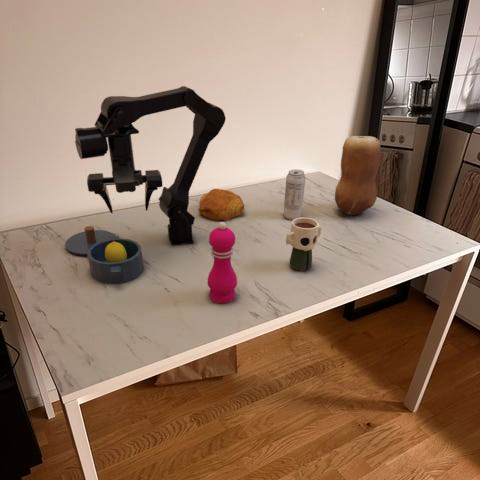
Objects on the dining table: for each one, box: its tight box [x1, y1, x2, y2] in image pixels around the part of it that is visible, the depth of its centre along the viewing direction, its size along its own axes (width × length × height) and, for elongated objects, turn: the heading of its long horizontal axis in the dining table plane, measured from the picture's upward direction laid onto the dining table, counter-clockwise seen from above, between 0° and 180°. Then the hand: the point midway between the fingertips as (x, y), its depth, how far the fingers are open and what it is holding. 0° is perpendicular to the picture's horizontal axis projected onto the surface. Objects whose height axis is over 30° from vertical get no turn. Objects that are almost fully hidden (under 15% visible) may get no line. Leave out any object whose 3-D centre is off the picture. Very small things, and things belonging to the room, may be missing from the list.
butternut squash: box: [334, 135, 382, 216], centre depth 147 cm, size 14×13×25 cm
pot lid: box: [64, 225, 117, 256], centre depth 132 cm, size 15×15×5 cm
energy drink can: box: [282, 168, 307, 221], centre depth 147 cm, size 6×6×15 cm
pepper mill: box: [206, 221, 238, 304], centre depth 108 cm, size 7×7×20 cm
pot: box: [86, 235, 144, 285], centre depth 121 cm, size 14×19×6 cm
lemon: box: [105, 242, 127, 263], centre depth 120 cm, size 6×6×8 cm
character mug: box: [285, 216, 322, 271], centre depth 122 cm, size 11×7×13 cm, turn 119°
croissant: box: [198, 188, 245, 221], centre depth 151 cm, size 14×16×8 cm
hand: (129, 211), depth 124 cm, fingers open, 9 cm apart
